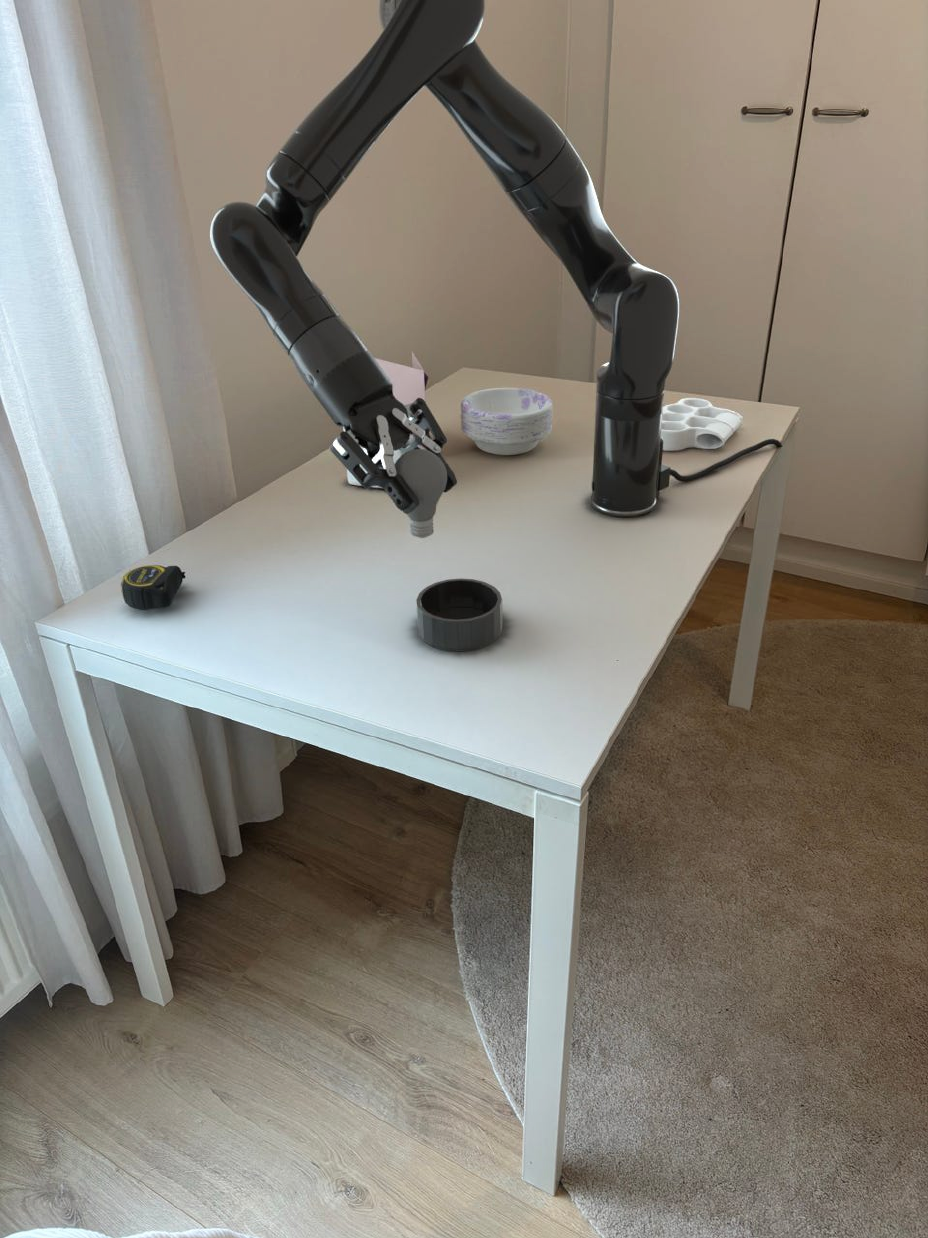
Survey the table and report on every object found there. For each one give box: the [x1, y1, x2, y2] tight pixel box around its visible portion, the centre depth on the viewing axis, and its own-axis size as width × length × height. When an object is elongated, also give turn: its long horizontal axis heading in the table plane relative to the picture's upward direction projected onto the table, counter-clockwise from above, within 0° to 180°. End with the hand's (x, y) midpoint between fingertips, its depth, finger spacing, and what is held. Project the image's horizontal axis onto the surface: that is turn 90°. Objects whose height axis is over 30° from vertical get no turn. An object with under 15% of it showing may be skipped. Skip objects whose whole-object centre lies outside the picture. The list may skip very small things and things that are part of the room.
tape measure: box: [120, 564, 186, 611], centre depth 118 cm, size 7×7×4 cm
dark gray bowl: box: [415, 577, 503, 652], centre depth 110 cm, size 10×10×4 cm
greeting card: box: [374, 351, 429, 450], centre depth 156 cm, size 11×7×15 cm, turn 12°
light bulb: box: [395, 449, 447, 539], centre depth 103 cm, size 6×6×10 cm
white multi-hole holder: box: [661, 397, 744, 452], centre depth 162 cm, size 3×18×15 cm
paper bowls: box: [460, 387, 554, 456], centre depth 158 cm, size 15×15×8 cm
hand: (432, 497), depth 102 cm, fingers closed on light bulb, 6 cm apart
